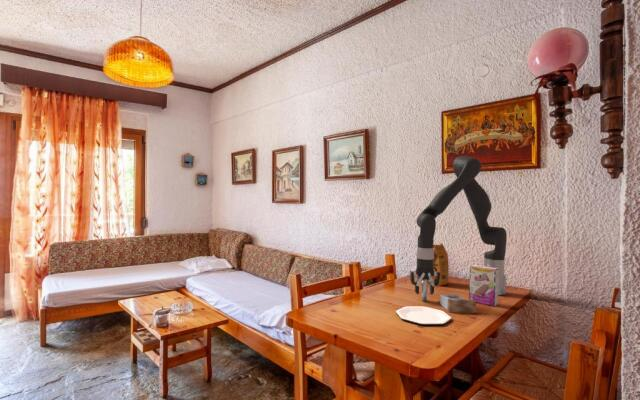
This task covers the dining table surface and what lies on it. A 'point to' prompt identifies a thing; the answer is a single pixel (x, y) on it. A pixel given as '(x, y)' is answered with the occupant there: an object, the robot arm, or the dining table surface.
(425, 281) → the dowel
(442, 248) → the coffee package
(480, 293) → the candy bar box
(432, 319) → the plate
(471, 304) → the wall
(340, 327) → the dining table surface
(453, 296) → the block
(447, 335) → the dining table surface
